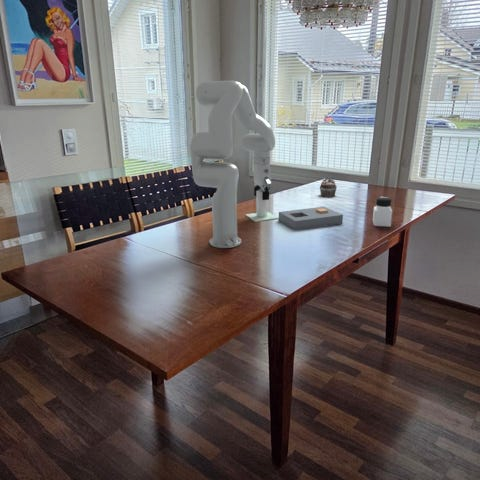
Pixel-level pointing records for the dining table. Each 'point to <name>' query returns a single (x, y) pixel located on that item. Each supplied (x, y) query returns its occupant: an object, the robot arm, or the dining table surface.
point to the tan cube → (321, 211)
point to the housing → (309, 218)
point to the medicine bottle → (382, 212)
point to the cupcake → (328, 187)
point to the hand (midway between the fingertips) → (261, 197)
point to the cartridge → (260, 204)
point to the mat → (257, 219)
